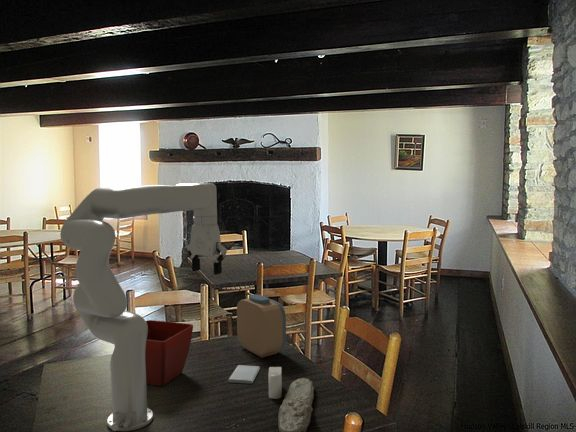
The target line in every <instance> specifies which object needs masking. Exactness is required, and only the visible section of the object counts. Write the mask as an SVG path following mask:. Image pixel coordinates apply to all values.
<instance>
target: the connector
mask: <svg viewBox="0 0 576 432" xmlns="http://www.w3.org/2000/svg"><path fill="white" fill-rule="evenodd" d="M282 373H283V372H282V366H269V368H268V373H267V374H268V376H267V377H268V398H269V399H272V400H273V399H274V400H276V399H278V400H279V399H281V398H282V391H283V390H282V389H283V385H282V384H283V383H282V382H283V381H282V380H283V379H282V377H283V376H282Z"/></svg>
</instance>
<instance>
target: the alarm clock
mask: <svg viewBox="0 0 576 432" xmlns="http://www.w3.org/2000/svg"><path fill="white" fill-rule="evenodd" d="M286 316H287V315H286V310H285V308H284V306H283V304H281V303H280V302H278V301H276V300H275V299H271V298H268V297H267V296H265V295H261V294H257V293H256V294H255V293H254V294H251V295H250V294H249V295H248V298H245V299H240V300H239V301H238V302H237V305H236V329H237V330H236V332H237V338H238V340H239V342H240V345H242V346H243V347H244V349H245V350H247V351H249V352H251V353H253V354H254V355H255V356H258V357H260V358H265V357H269V356H272V355H276V354H278V353H279V351H280V350H281V351H282V350H283V349H284V348H285V346H286V342H287V318H286Z"/></svg>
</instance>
